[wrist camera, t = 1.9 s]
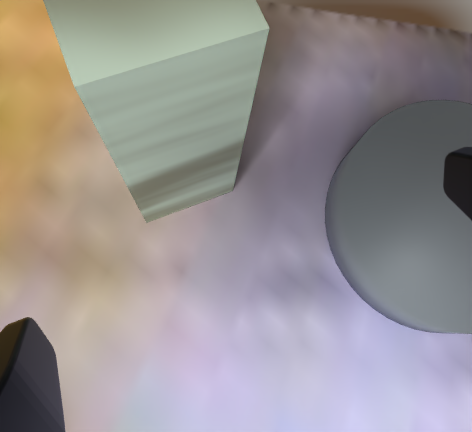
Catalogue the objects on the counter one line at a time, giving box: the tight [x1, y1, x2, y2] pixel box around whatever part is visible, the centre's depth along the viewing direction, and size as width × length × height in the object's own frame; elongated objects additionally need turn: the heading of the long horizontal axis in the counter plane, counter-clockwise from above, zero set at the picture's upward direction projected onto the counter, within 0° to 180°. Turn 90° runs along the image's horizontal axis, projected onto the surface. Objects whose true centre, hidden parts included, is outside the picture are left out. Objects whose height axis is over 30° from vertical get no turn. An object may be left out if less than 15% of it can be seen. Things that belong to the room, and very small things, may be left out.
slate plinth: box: [325, 100, 472, 334], centre depth 22 cm, size 12×12×3 cm
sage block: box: [43, 0, 269, 223], centre depth 17 cm, size 5×5×13 cm
